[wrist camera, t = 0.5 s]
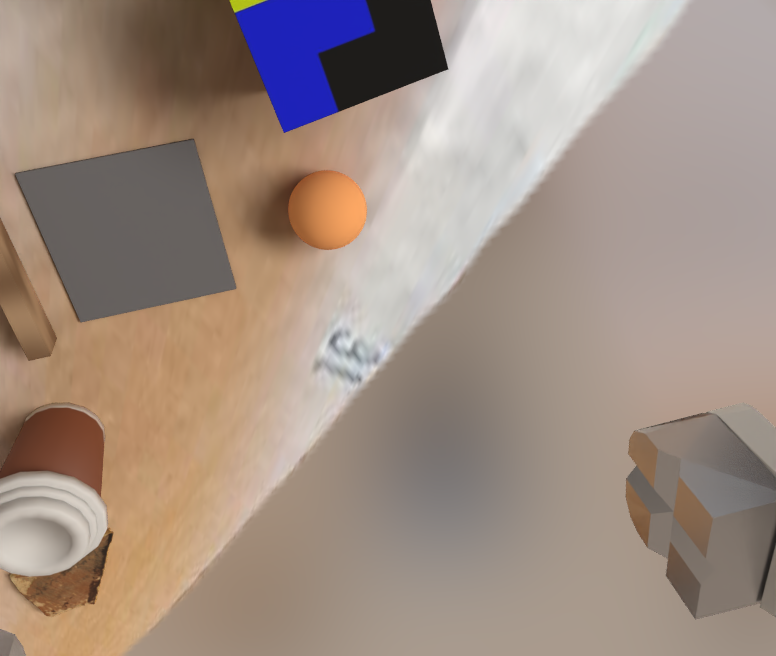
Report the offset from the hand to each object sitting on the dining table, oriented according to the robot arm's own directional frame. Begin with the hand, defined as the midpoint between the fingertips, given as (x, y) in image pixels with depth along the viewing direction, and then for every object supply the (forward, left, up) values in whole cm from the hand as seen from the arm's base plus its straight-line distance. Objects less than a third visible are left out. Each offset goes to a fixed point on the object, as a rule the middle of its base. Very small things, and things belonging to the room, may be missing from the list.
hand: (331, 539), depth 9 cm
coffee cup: (+29, -22, -44) cm, 57 cm away
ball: (+13, +3, -41) cm, 43 cm away
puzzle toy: (-1, +5, -44) cm, 45 cm away
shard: (+44, -28, -45) cm, 69 cm away
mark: (+13, -11, -44) cm, 47 cm away
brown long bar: (+13, -20, -44) cm, 50 cm away
